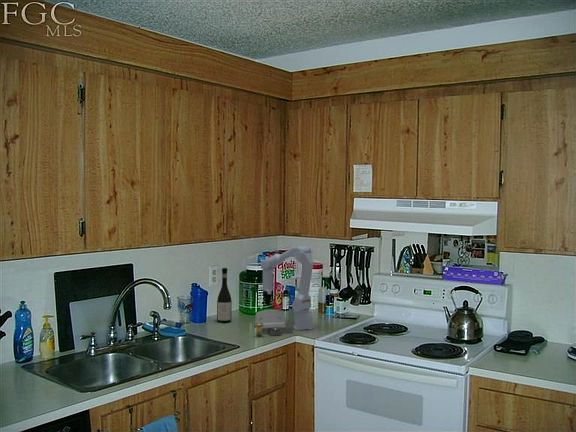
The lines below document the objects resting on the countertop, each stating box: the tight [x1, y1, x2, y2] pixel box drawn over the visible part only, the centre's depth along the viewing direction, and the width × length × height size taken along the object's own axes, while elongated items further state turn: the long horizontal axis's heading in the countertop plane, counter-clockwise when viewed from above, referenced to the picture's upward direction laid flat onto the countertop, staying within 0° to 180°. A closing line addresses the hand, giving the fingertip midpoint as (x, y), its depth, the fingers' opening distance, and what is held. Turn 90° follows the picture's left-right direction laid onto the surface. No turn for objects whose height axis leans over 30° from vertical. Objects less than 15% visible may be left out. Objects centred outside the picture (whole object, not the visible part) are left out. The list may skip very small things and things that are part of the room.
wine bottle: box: [216, 267, 233, 324], centre depth 310 cm, size 8×8×30 cm
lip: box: [262, 326, 294, 337], centre depth 284 cm, size 19×6×3 cm, turn 100°
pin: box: [254, 323, 263, 338], centre depth 281 cm, size 4×4×6 cm
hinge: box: [254, 309, 287, 328], centre depth 302 cm, size 17×5×10 cm, turn 105°
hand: (267, 304), depth 312 cm, fingers closed
